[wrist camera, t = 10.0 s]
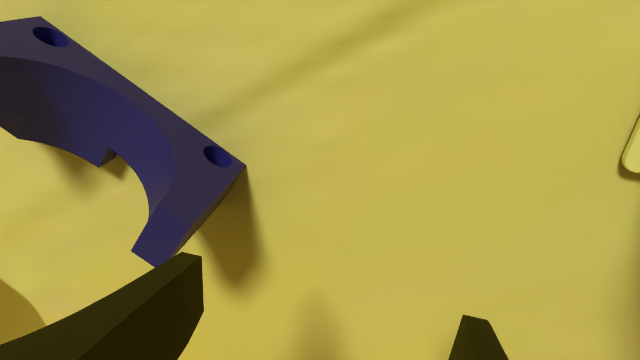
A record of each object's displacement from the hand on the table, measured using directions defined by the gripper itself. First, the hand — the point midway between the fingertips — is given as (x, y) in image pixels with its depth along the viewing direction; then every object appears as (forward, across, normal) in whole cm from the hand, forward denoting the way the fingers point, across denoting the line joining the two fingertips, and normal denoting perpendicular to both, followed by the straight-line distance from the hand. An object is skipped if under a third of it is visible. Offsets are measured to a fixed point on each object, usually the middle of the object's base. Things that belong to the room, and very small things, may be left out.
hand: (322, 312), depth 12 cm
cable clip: (+10, +12, 0) cm, 16 cm away
